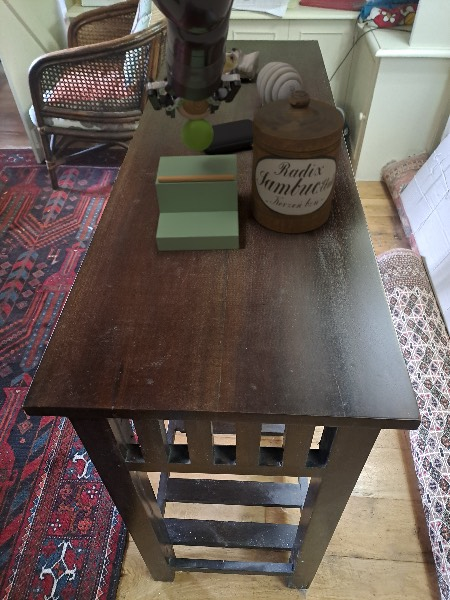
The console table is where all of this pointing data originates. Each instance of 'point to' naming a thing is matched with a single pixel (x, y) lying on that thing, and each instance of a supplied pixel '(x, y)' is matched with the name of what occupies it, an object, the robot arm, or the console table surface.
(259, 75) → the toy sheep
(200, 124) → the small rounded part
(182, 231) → the green step block
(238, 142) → the carrying case
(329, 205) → the wooden container
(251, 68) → the ceramic sculpture
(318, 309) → the console table surface
